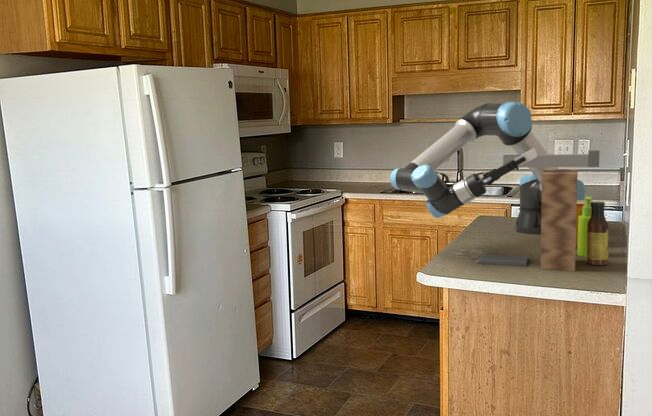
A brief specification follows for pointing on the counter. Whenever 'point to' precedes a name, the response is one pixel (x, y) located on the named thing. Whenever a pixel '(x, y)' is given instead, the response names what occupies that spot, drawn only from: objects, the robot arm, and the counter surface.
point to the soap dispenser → (583, 227)
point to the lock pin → (559, 160)
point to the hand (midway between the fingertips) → (535, 152)
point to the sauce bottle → (597, 235)
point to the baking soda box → (579, 212)
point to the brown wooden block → (558, 219)
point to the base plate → (503, 260)
